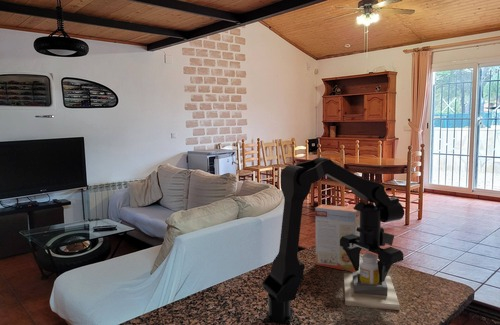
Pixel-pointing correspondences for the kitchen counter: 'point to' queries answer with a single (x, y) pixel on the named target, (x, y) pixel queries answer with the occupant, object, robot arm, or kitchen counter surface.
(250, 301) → the kitchen counter surface
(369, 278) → the supplement bottle
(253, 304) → the kitchen counter surface
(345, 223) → the cracker box
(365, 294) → the collar board
